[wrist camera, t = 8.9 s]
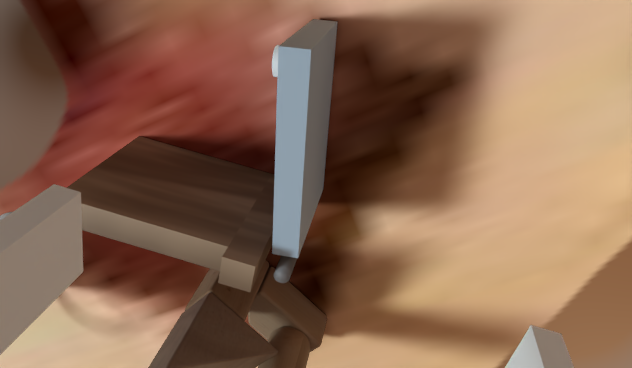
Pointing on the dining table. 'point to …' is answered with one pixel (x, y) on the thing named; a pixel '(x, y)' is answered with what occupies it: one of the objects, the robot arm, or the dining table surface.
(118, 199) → the notched wooden plank
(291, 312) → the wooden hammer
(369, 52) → the dining table surface
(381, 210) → the dining table surface
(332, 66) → the door
